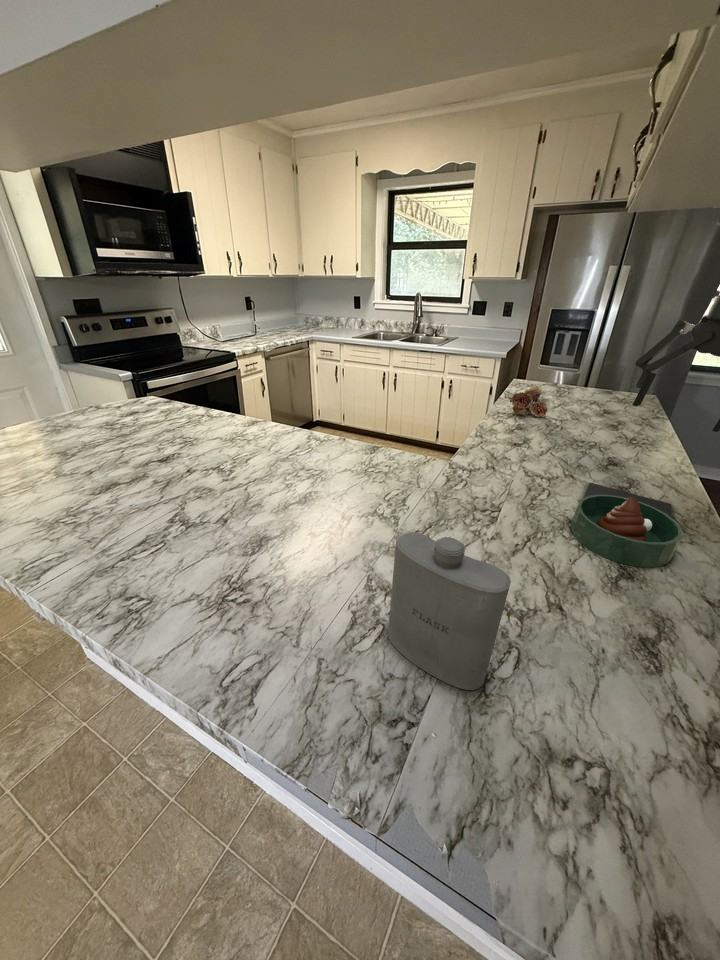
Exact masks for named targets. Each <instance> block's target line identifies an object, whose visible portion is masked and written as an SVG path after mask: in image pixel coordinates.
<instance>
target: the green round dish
mask: <svg viewBox="0 0 720 960" xmlns="http://www.w3.org/2000/svg"><path fill="white" fill-rule="evenodd" d="M583 497H584V496H583ZM583 497H582V498H581V499H579V500H578V503H577V505H576V508H575V512H574V515H573V517H572V520H571V524H570V531H571V533H572V535H573V537H574V538H575V539H576V540H577V541H578V543H580V544H581V545H582V546H583V547H584V548H586V549H588V550H589V551H591V552H592V553H594V554H596V555H598V556H600V557H603V558H604V559H606V560H609V561H612V562H615V563H618V564H621V565H626V566H630V567H635V568H636V567H637V568H646V569H647V568H658V567H662V566H665V565H667V564H668V563H669V562H670V561H671V559H673V557H674V555H675V553H676V551H677V550H678V547H679V545H680V543H681V541H682V539H683V537H684V535H683V528H682V527H681V526H680V525H679V523H678V522H677V520H675V519H674V518H672V516H671V517H670V516H668V515H667V514H666V513H664V512H662V511H660V510H658V509H656V508H654V507H652V506H650V505H647V504H645V503H642V502H639V501H638V503H639V506H640V512H641V513H642V517H643V518H644V519H649V520H650V521H651V522H652V528H651V529H650V530H649V531H647V532H646V537H647V541H646V542H645V541H639V540H634V539H630V538H626V537H623V536H620V535H617V534H614V533H612V532H610V531H608V530H606V529H603V528H601V527H600V526H598V525H597V522H598V520H599V519H600V518H602V517H604V516H605V515H606V514H607V513H608V512H611V510H612V509H614V507H616V506H620V505H622V504H623V503H624V502H625V501H626V500H627V499H628V498H625V497H620V496H613V495H592V496H586V497H584V498H583Z"/></svg>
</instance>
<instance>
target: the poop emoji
mask: <svg viewBox="0 0 720 960" xmlns="http://www.w3.org/2000/svg"><path fill="white" fill-rule="evenodd" d="M597 525H598V526H600V527H601V528H603V529H606V530H608V531H610V532H612V533H614V534H617V535H620V536H623V537H626V538H630V539H634V540H639V541H645V542H646V541H647V537H646V532H647V531H649V530H650V529H651V528H652V522H651V521H650V520H649V519H644V518H643V517H642V513H641V512H640V506H639V503H638V501H637V500H636V499H635V498H633V497H628V499H627V500H626V501H625V502H624V503H623V504H622V505H620V506H616V507H614V509H612V510H611V512H608V513H607V514H606V515H605V516H604V517H602V518H600V519H599V520H598V522H597Z"/></svg>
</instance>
